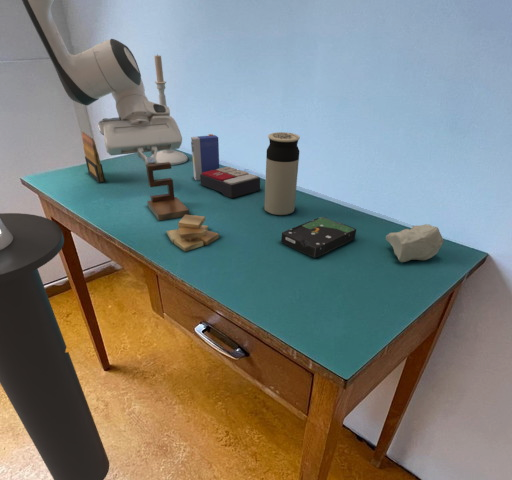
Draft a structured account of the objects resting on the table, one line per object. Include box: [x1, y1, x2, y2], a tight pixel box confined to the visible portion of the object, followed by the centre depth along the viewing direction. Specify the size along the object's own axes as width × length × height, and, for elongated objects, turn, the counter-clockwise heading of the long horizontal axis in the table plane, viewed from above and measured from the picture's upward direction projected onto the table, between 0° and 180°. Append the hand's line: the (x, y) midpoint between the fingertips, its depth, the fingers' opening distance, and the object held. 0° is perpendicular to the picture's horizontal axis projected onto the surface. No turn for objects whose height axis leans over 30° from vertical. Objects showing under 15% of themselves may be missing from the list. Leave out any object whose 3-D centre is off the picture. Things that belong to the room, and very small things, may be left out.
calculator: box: [199, 166, 261, 199], centre depth 117 cm, size 11×4×15 cm
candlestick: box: [150, 53, 188, 166], centre depth 128 cm, size 13×13×30 cm
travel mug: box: [264, 131, 300, 216], centre depth 100 cm, size 8×8×18 cm
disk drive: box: [280, 216, 357, 259], centre depth 91 cm, size 10×3×15 cm
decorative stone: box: [385, 223, 444, 263], centre depth 85 cm, size 11×9×10 cm
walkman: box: [190, 133, 220, 181], centre depth 120 cm, size 8×3×12 cm, turn 115°
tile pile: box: [166, 214, 220, 252], centre depth 90 cm, size 10×11×4 cm
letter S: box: [145, 162, 190, 222], centre depth 100 cm, size 8×10×10 cm
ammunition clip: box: [81, 131, 106, 184], centre depth 118 cm, size 11×2×12 cm, turn 35°
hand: (151, 165), depth 106 cm, fingers closed
